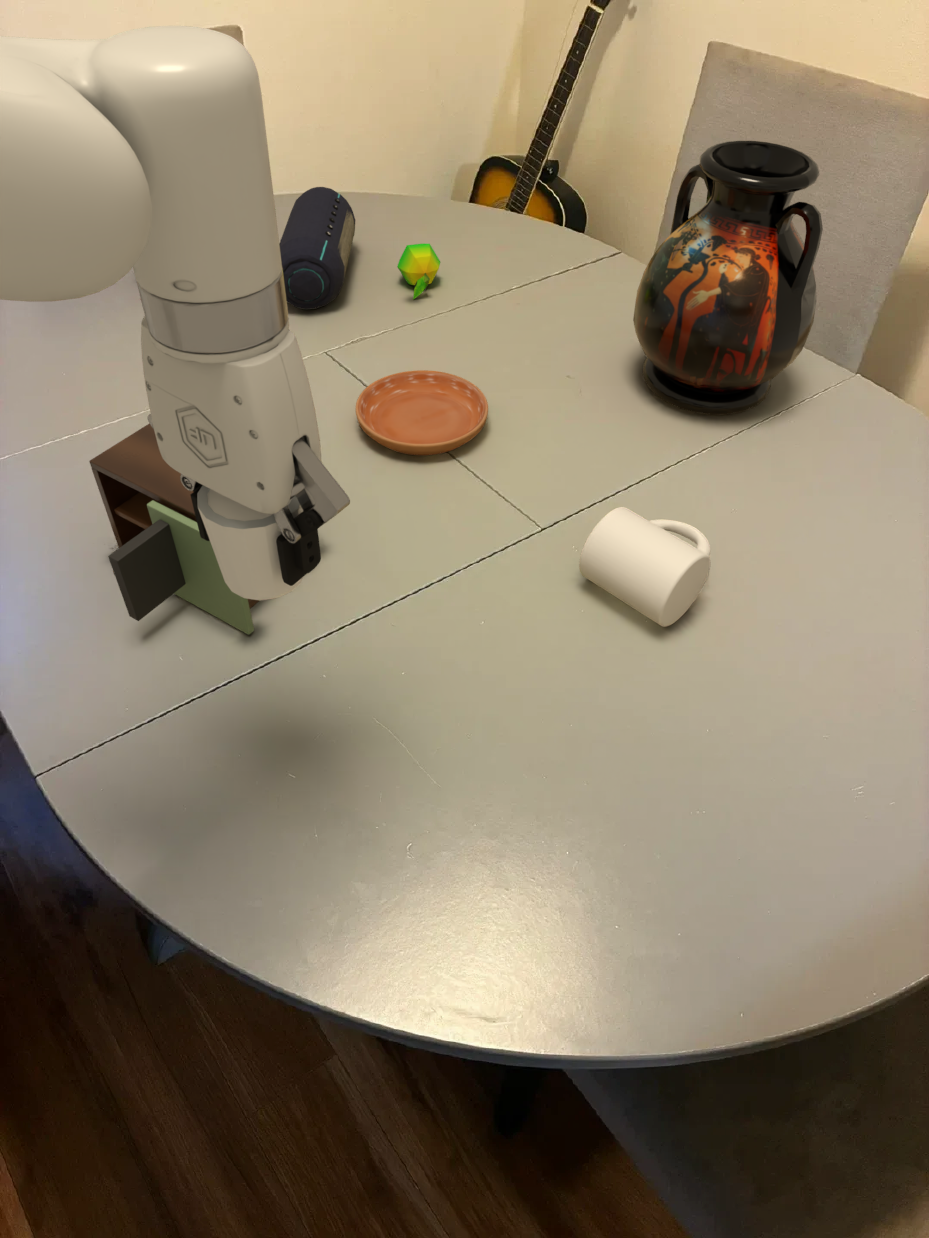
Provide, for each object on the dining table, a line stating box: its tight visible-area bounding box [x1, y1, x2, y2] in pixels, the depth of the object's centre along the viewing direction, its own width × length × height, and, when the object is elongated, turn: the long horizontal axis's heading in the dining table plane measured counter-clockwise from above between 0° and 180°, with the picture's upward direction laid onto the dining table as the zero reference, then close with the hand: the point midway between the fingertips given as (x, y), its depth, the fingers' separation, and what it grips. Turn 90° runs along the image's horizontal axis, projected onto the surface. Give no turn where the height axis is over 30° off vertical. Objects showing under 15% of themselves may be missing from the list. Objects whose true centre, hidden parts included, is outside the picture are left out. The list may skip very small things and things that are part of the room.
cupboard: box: [89, 422, 260, 609], centre depth 87 cm, size 12×16×12 cm
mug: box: [578, 506, 712, 627], centre depth 87 cm, size 12×10×8 cm
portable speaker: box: [279, 186, 356, 310], centre depth 131 cm, size 25×10×10 cm, turn 179°
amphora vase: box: [632, 140, 824, 416], centre depth 107 cm, size 22×22×28 cm
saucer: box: [354, 369, 489, 457], centre depth 108 cm, size 16×16×3 cm
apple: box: [396, 243, 441, 301], centre depth 132 cm, size 7×6×9 cm
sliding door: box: [107, 500, 255, 636], centre depth 80 cm, size 7×10×11 cm
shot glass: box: [197, 485, 304, 601], centre depth 60 cm, size 7×7×7 cm
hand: (260, 549), depth 61 cm, fingers closed on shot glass, 6 cm apart
